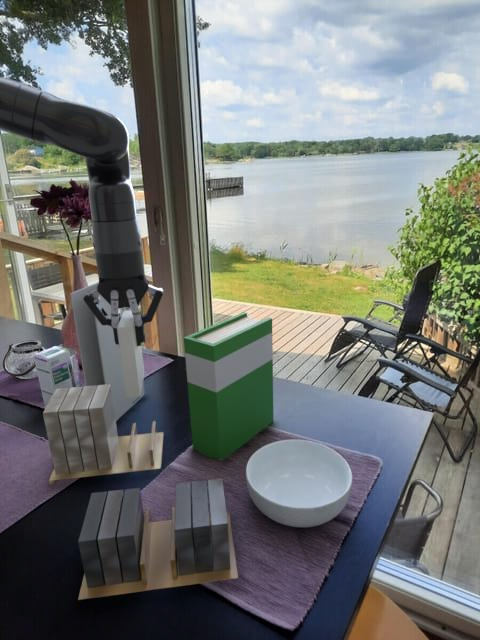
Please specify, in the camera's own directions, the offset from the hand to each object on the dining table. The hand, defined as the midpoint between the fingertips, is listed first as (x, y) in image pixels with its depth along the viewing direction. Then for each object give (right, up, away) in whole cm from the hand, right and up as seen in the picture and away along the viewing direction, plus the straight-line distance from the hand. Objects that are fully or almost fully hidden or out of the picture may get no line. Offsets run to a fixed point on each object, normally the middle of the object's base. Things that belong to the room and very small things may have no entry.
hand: (130, 344), depth 78 cm
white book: (0, -8, +3) cm, 8 cm away
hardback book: (+18, -20, +15) cm, 31 cm away
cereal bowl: (+29, -26, -5) cm, 40 cm away
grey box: (-10, -17, +27) cm, 34 cm away
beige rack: (-5, -23, +9) cm, 25 cm away
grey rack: (+8, -30, -14) cm, 34 cm away
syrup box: (-24, -17, +29) cm, 41 cm away
